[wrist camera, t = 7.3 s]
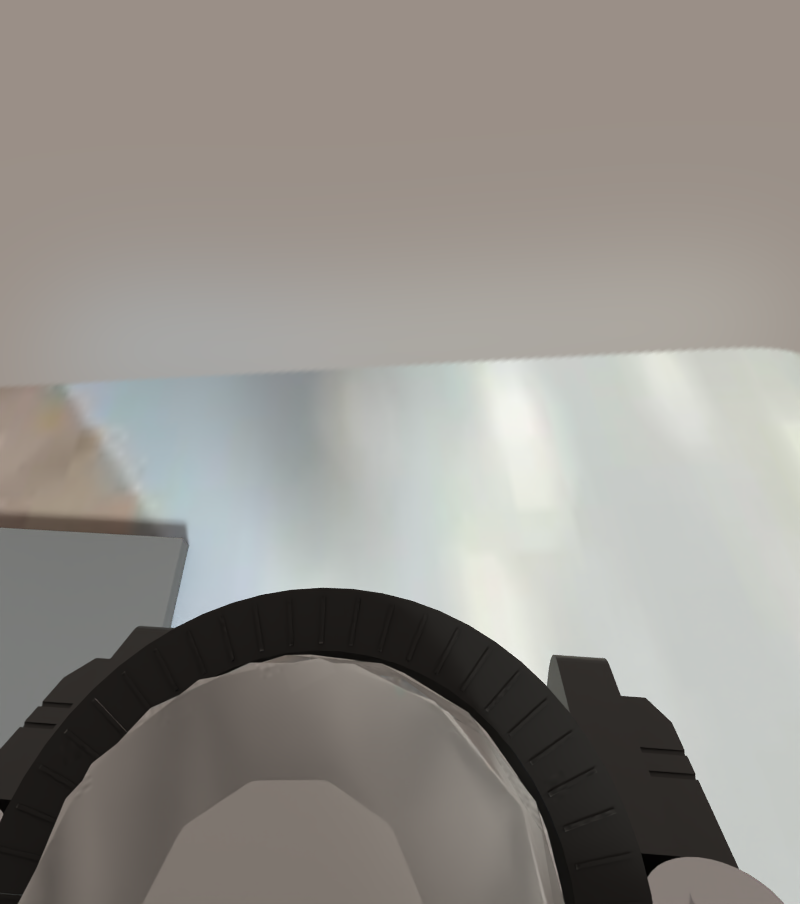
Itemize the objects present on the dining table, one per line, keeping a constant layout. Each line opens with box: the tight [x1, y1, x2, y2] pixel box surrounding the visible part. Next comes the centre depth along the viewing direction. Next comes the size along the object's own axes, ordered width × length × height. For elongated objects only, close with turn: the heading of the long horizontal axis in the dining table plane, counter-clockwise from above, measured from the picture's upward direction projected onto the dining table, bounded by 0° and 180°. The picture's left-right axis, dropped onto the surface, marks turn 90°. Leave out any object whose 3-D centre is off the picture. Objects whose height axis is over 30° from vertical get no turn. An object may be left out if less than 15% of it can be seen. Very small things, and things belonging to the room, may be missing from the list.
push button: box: [0, 588, 653, 904], centre depth 10 cm, size 7×5×10 cm
